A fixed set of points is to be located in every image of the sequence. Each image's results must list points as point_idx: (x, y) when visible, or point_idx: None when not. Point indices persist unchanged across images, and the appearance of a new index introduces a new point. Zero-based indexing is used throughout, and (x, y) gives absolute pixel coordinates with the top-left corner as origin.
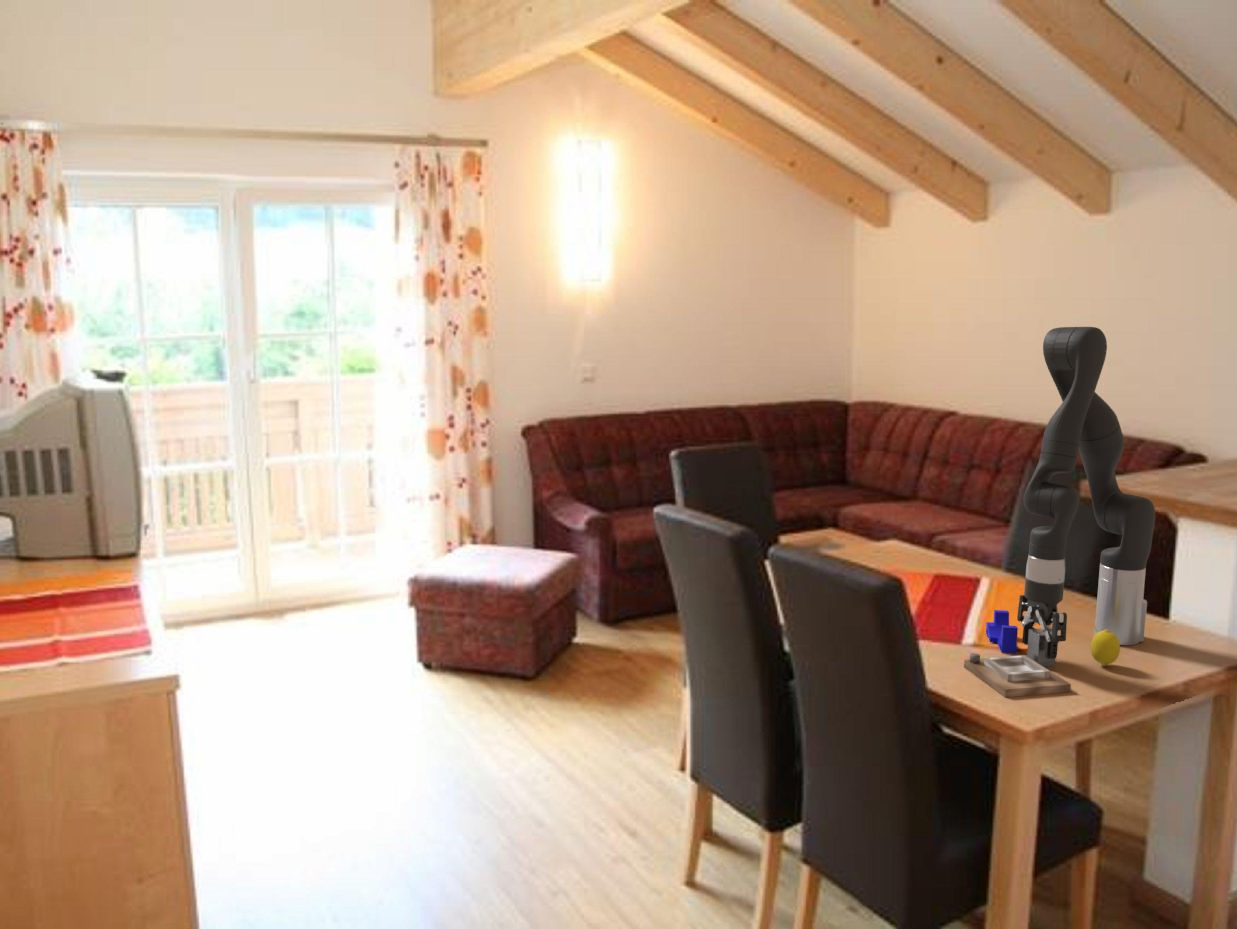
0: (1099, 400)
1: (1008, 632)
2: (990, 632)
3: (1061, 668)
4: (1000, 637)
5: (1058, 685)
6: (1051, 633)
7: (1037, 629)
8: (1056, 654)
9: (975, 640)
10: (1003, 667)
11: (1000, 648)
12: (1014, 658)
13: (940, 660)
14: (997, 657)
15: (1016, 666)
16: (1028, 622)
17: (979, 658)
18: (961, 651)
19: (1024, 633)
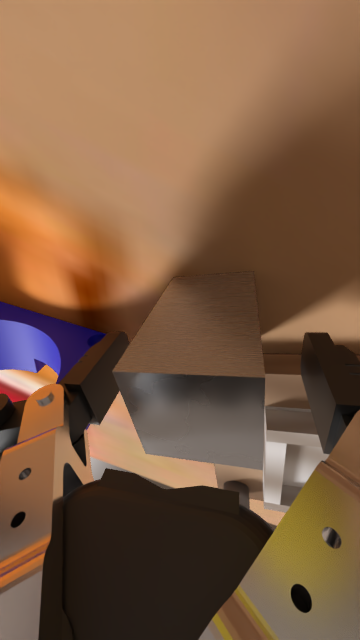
0: None
1: None
2: (7, 366)
3: (289, 256)
4: None
5: None
6: (235, 400)
7: (147, 424)
8: (355, 357)
9: (42, 382)
10: (301, 471)
11: None
12: (284, 459)
13: (178, 481)
14: (267, 489)
15: (307, 447)
16: (86, 459)
17: (246, 500)
18: (123, 435)
19: (110, 401)
